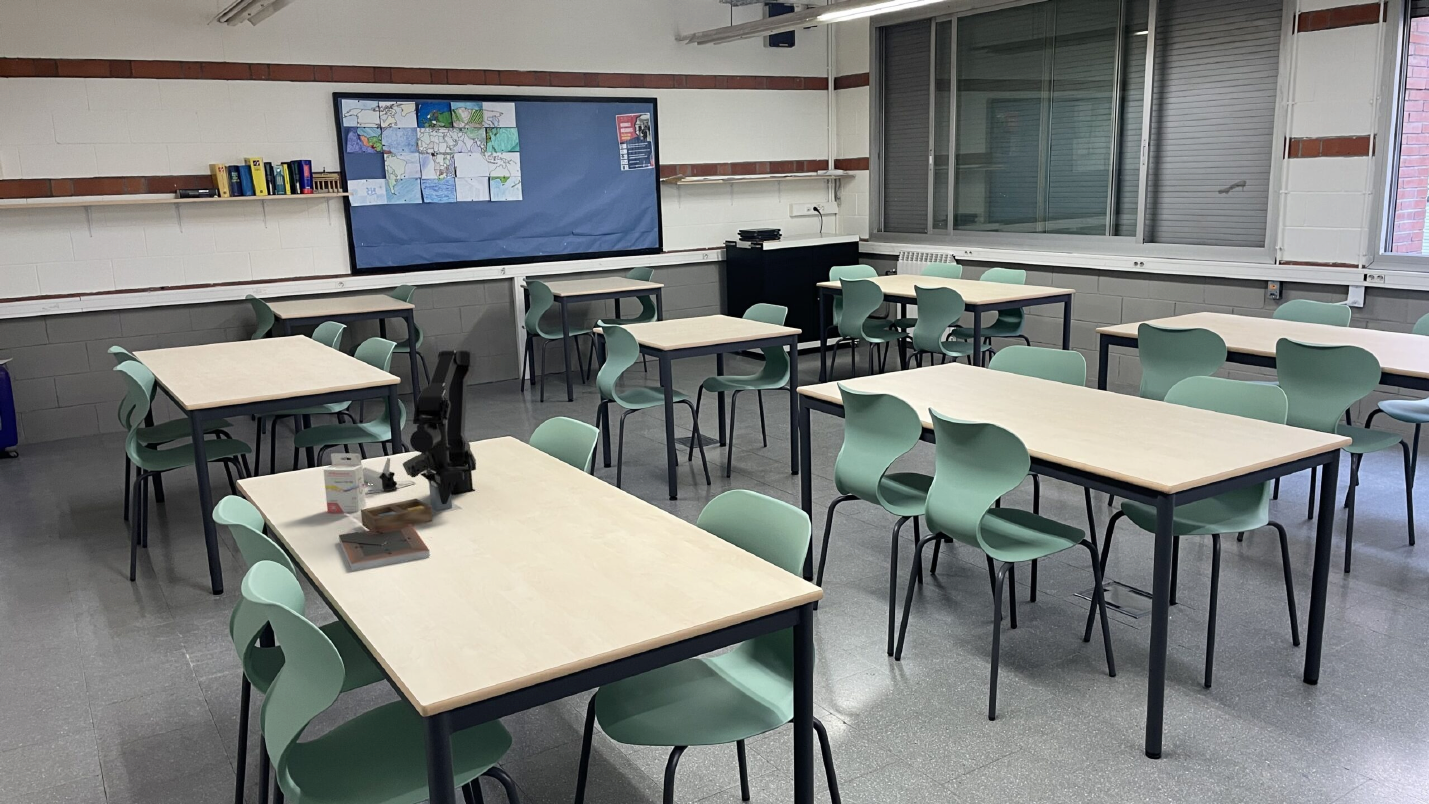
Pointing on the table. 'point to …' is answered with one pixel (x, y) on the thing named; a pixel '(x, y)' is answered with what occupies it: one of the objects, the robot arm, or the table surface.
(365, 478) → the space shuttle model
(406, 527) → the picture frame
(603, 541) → the table surface
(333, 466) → the ink cartridge box
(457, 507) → the pad
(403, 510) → the socket block
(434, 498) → the plug
